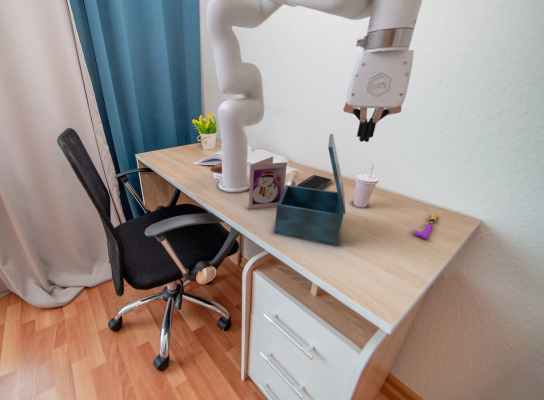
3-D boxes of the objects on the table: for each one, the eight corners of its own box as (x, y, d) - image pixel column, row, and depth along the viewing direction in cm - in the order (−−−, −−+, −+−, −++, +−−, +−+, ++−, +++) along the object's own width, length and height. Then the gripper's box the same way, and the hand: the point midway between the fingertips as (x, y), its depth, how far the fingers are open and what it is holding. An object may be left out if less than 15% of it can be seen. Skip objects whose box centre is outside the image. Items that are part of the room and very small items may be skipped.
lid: (328, 147, 51) (332, 146, 51) (329, 134, 62) (332, 133, 62) (341, 214, 56) (345, 214, 56) (341, 191, 68) (344, 190, 67)
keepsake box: (274, 233, 66) (277, 205, 62) (283, 209, 77) (286, 184, 73) (336, 246, 61) (343, 216, 56) (336, 219, 72) (342, 192, 68)
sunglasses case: (233, 159, 122) (239, 149, 118) (243, 168, 121) (249, 158, 116) (209, 169, 110) (214, 158, 106) (219, 179, 109) (225, 169, 104)
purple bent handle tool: (426, 240, 61) (437, 217, 71) (427, 235, 61) (437, 213, 71) (413, 237, 63) (425, 215, 73) (414, 233, 63) (426, 212, 73)
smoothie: (373, 210, 76) (386, 168, 69) (351, 208, 77) (362, 167, 70) (367, 201, 81) (378, 161, 75) (347, 199, 82) (356, 160, 76)
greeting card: (249, 210, 77) (251, 165, 70) (244, 199, 84) (245, 158, 77) (283, 206, 79) (288, 163, 72) (275, 196, 85) (279, 155, 78)
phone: (296, 185, 90) (313, 174, 100) (295, 188, 91) (313, 177, 100) (316, 191, 85) (332, 179, 95) (315, 194, 86) (332, 181, 96)
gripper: (344, 44, 45) (327, 142, 54) (442, 37, 40) (407, 147, 48) (343, 48, 51) (328, 135, 60) (428, 42, 46) (399, 138, 54)
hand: (363, 140), depth 54 cm, fingers closed
